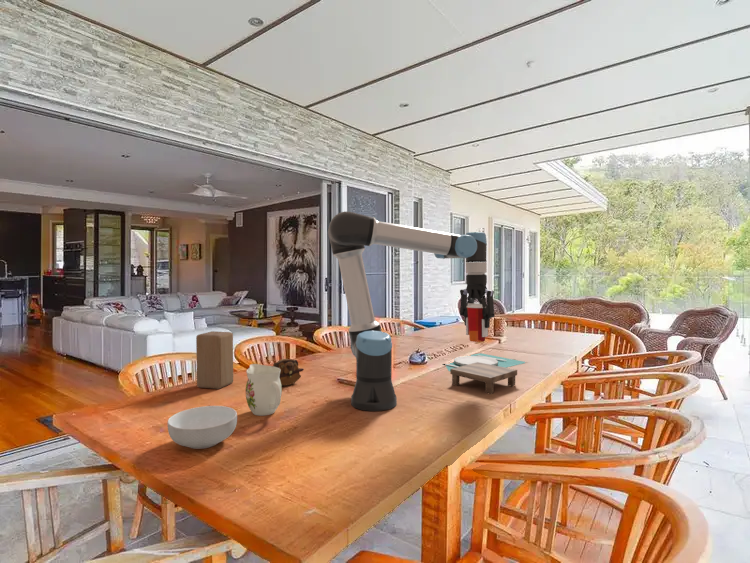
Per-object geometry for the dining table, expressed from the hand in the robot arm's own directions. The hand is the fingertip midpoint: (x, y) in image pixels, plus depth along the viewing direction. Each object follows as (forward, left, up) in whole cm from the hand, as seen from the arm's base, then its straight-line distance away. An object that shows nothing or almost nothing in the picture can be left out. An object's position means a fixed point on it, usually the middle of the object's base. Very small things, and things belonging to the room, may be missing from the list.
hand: (476, 335), depth 164 cm
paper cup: (0, 0, -2) cm, 2 cm away
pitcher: (-72, +28, -20) cm, 80 cm away
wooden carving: (-51, +51, -20) cm, 75 cm away
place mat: (+34, +24, -21) cm, 47 cm away
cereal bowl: (-95, +18, -20) cm, 99 cm away
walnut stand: (+6, +1, -20) cm, 21 cm away
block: (-71, +69, -20) cm, 101 cm away
